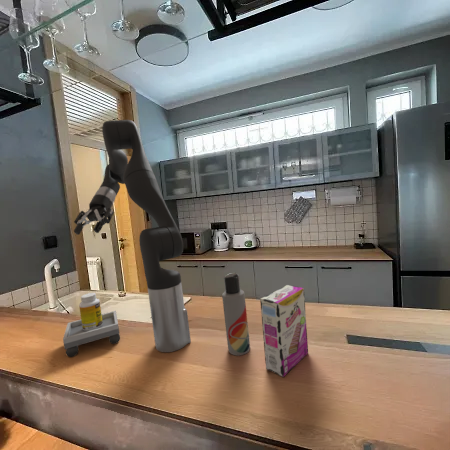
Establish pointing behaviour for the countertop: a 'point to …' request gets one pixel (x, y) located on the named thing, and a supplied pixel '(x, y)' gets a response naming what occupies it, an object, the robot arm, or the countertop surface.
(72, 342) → the square grey tray
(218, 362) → the countertop surface
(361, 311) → the countertop surface
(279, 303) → the candy bar box
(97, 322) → the supplement bottle
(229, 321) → the lotion bottle
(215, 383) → the countertop surface
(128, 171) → the robot arm
